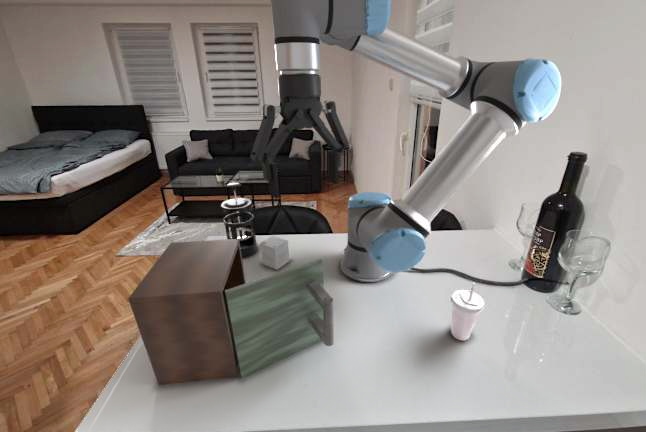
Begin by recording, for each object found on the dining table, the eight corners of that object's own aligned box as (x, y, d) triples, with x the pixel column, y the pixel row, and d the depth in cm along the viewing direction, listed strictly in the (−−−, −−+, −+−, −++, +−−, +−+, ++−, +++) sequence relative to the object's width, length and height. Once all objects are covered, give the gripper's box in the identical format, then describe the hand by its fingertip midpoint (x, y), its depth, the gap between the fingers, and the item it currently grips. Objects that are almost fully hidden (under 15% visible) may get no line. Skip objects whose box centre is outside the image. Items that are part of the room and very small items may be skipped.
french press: (251, 260, 94) (241, 190, 85) (222, 258, 95) (209, 189, 86) (263, 242, 105) (256, 178, 95) (237, 240, 106) (227, 177, 96)
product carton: (290, 261, 94) (288, 240, 91) (276, 270, 89) (274, 248, 86) (275, 255, 97) (273, 235, 94) (261, 264, 92) (259, 243, 89)
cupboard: (250, 311, 73) (239, 238, 65) (237, 377, 57) (220, 291, 49) (189, 316, 72) (170, 242, 64) (158, 385, 56) (127, 298, 47)
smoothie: (461, 349, 63) (473, 295, 57) (438, 329, 68) (447, 277, 62) (482, 338, 65) (496, 285, 60) (458, 319, 71) (469, 269, 65)
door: (342, 361, 60) (343, 280, 52) (253, 409, 51) (237, 320, 43) (322, 335, 66) (320, 258, 58) (240, 374, 57) (224, 290, 49)
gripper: (344, 73, 62) (344, 174, 71) (219, 74, 49) (238, 196, 58) (368, 72, 56) (365, 181, 65) (234, 72, 43) (253, 209, 52)
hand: (305, 189), depth 61 cm, fingers open, 13 cm apart
